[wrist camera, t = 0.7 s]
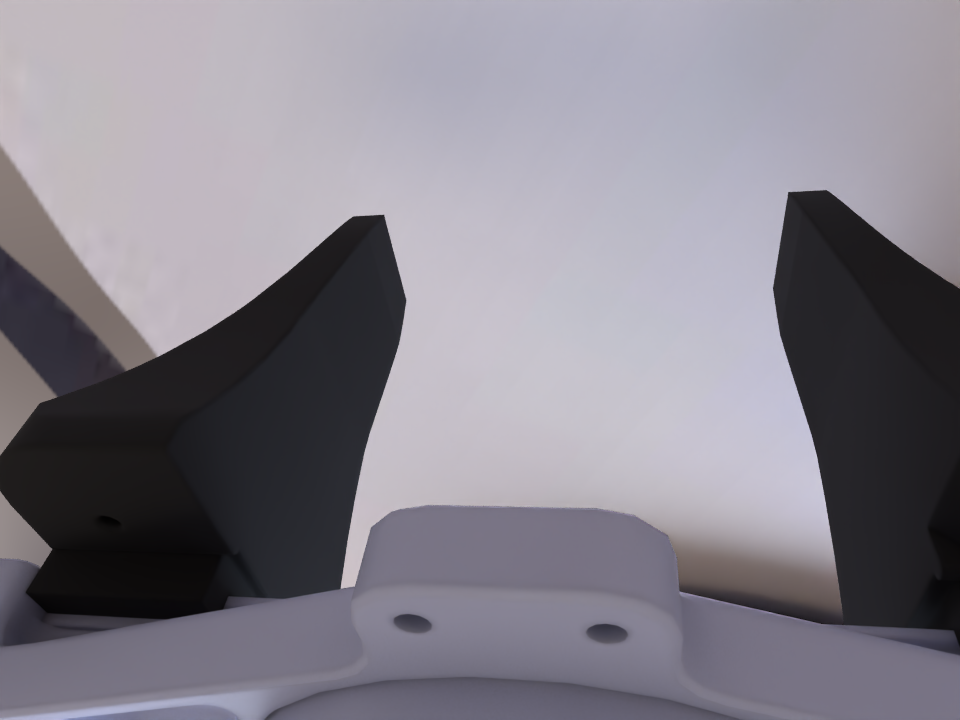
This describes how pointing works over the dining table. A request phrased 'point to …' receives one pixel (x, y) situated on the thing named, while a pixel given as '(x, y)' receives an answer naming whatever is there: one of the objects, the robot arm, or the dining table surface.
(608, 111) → the dining table surface
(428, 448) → the dining table surface
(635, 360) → the dining table surface
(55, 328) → the dining table surface
